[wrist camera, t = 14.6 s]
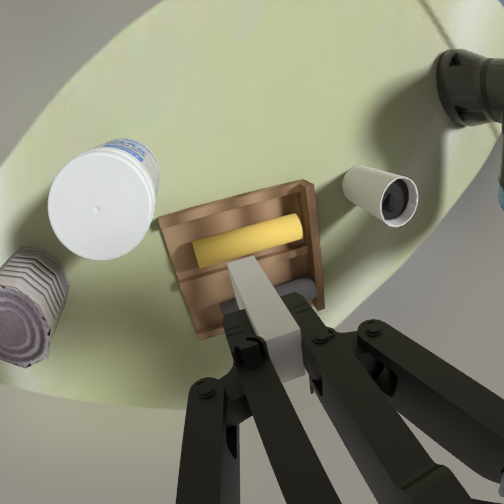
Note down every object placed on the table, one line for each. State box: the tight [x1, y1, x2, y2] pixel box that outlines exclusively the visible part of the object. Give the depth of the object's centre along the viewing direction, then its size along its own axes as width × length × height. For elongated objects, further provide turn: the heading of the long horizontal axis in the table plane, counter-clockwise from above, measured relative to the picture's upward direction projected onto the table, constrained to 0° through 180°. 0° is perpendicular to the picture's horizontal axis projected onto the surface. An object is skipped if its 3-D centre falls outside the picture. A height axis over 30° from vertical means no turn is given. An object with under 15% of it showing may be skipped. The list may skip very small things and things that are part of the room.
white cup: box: [342, 165, 418, 227], centre depth 40 cm, size 7×7×10 cm
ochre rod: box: [192, 213, 303, 268], centre depth 41 cm, size 14×4×4 cm
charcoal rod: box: [219, 276, 317, 317], centre depth 46 cm, size 14×4×4 cm, turn 101°
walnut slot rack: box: [158, 179, 325, 340], centre depth 43 cm, size 20×20×3 cm
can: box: [0, 247, 70, 368], centre depth 32 cm, size 11×11×12 cm
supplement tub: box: [47, 138, 160, 261], centre depth 29 cm, size 10×10×15 cm
